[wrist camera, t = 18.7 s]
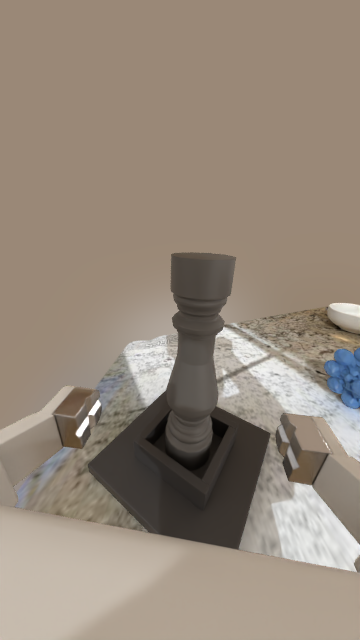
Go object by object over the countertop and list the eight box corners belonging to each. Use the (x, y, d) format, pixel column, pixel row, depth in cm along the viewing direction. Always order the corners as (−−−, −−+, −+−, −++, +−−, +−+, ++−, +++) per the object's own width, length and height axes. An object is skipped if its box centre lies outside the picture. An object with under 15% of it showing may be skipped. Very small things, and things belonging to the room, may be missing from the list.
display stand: (89, 471, 26) (84, 447, 24) (171, 390, 40) (172, 371, 38) (221, 606, 17) (229, 583, 15) (268, 440, 31) (275, 418, 29)
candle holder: (211, 473, 25) (246, 262, 15) (161, 467, 25) (162, 257, 15) (209, 428, 30) (233, 254, 21) (168, 424, 31) (172, 251, 21)
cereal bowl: (370, 324, 75) (378, 306, 73) (396, 345, 61) (408, 323, 58) (317, 316, 80) (323, 299, 78) (330, 334, 66) (338, 314, 63)
